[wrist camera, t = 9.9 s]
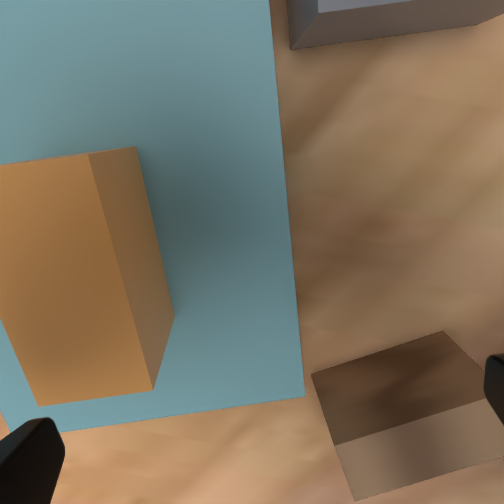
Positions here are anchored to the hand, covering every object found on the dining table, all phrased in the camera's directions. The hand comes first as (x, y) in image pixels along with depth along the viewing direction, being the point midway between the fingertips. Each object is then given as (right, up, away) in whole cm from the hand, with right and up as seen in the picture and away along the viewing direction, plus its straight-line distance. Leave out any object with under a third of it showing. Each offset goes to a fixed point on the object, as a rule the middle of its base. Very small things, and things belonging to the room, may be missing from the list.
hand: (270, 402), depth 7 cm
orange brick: (-7, +3, +8) cm, 11 cm away
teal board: (-7, +4, +10) cm, 12 cm away
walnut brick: (+7, -5, +14) cm, 16 cm away
